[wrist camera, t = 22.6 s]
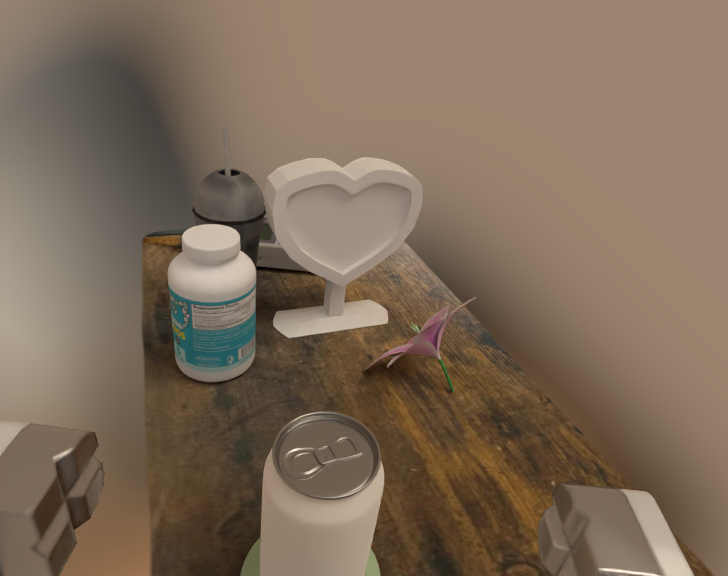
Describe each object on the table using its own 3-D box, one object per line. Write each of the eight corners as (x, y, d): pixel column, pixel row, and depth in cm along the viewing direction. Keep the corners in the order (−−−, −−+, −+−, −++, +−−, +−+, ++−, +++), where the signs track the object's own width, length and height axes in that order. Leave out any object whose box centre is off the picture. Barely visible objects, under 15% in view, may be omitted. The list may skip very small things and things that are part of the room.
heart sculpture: (270, 340, 53) (275, 174, 44) (259, 313, 57) (262, 155, 48) (402, 321, 59) (432, 171, 50) (384, 297, 63) (409, 154, 54)
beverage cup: (268, 289, 62) (273, 120, 51) (258, 324, 55) (261, 140, 45) (206, 283, 61) (199, 111, 51) (189, 318, 55) (177, 130, 45)
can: (245, 554, 34) (245, 425, 27) (334, 517, 37) (352, 392, 30) (282, 656, 29) (293, 527, 23) (380, 603, 32) (413, 477, 26)
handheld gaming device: (333, 278, 66) (336, 251, 64) (217, 266, 65) (216, 238, 63) (335, 247, 73) (338, 222, 71) (231, 235, 72) (231, 210, 70)
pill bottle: (179, 337, 52) (169, 215, 45) (254, 335, 54) (255, 217, 47) (171, 388, 46) (158, 256, 39) (256, 384, 48) (258, 257, 41)
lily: (456, 345, 58) (430, 269, 56) (527, 377, 48) (500, 285, 45) (367, 397, 55) (334, 319, 52) (422, 445, 44) (386, 350, 41)
